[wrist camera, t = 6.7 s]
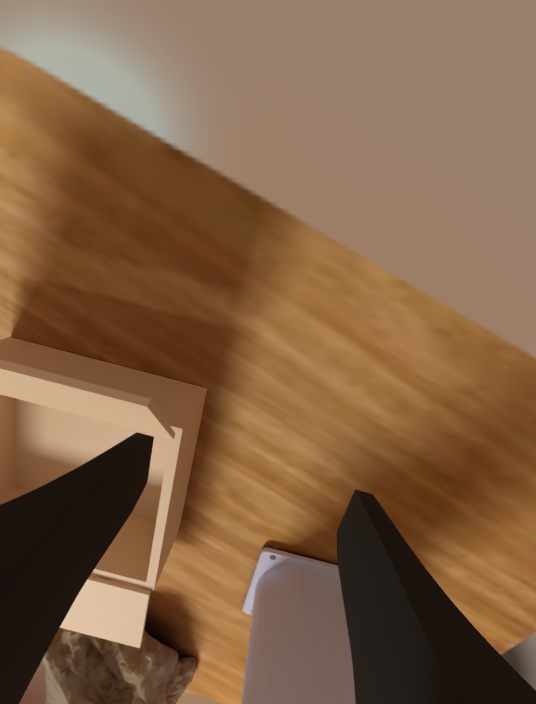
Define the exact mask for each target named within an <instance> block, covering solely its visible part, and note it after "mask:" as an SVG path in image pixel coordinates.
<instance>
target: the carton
mask: <svg viewBox="0 0 536 704" xmlns="http://www.w3.org/2000/svg"><path fill="white" fill-rule="evenodd" d="M0 360H4V361H8V362H12V363H16V364H20V365H23V366H27V367H31V368H35V369H39V370H43V371H46V372H50V373H54V374H58V375H62V376H65V377H69V378H73V379H77V380H81V381H85V382H88V383H92V384H96V385H100V386H104V387H108V388H111V389H115V390H119V391H123V392H127V393H131V394H134V395H138V396H142V397H146V398H150V399H151V400H152V402H153V403H154V404H155V406H156V407H157V409H158V410H159V411H160V413H161V414H162V415H163V417H164V418H165V420H166V421H167V422H168V424H169V425H170V427H171V428H172V429H173V431H174V432H175V437H174V440H173V439H169V438H166V437H162V436H158V435H154V434H150V433H146V432H143V431H139V430H135V429H131V428H127V427H123V426H119V425H116V424H112V423H108V422H104V421H100V420H96V419H93V418H89V417H85V416H81V415H77V414H73V413H70V412H66V411H62V410H58V409H54V408H50V407H47V406H43V405H39V404H35V403H31V402H27V401H24V400H20V399H16V398H12V397H8V396H4V395H1V394H0V505H1V504H3V503H6V502H8V501H10V500H12V499H15V498H17V497H19V496H22V495H24V494H26V493H28V492H30V491H33V490H35V489H37V488H39V487H41V486H43V485H45V484H47V483H49V482H51V481H53V480H55V479H57V478H59V477H60V476H62V475H64V474H66V473H68V472H70V471H72V470H74V469H76V468H77V467H79V466H81V465H83V464H84V463H86V462H88V461H90V460H91V459H93V458H95V457H97V456H98V455H100V454H102V453H103V452H105V451H107V450H108V449H110V448H112V447H113V446H115V445H117V444H118V443H120V442H121V441H123V440H125V439H126V438H128V437H130V436H131V435H133V434H135V433H137V432H138V433H142V434H145V435H149V436H153V437H154V440H153V447H152V454H151V461H150V468H149V475H148V482H147V484H146V486H145V488H144V490H143V492H142V494H141V496H140V498H139V500H138V502H137V504H136V506H135V508H134V510H133V511H132V513H131V514H130V516H129V517H128V519H127V521H126V522H125V524H124V525H123V527H122V528H121V530H120V531H119V533H118V534H117V536H116V537H115V539H114V540H113V542H112V543H111V545H110V546H109V548H108V549H107V551H106V552H105V554H104V555H103V557H102V558H101V560H100V561H99V563H98V564H97V566H96V567H95V569H94V570H93V572H92V573H91V574H93V575H97V576H101V577H105V578H108V579H112V580H116V581H120V582H124V583H128V584H132V585H135V586H139V587H143V588H147V589H151V590H154V589H155V586H156V584H157V582H158V579H159V577H160V574H161V572H162V569H163V567H164V564H165V562H166V560H167V557H168V555H169V552H170V550H171V547H172V545H173V542H174V540H175V538H176V535H177V533H178V530H179V528H180V523H181V518H182V513H183V508H184V503H185V498H186V493H187V488H188V483H189V478H190V473H191V468H192V463H193V458H194V453H195V448H196V443H197V438H198V433H199V428H200V423H201V418H202V413H203V408H204V403H205V398H206V393H207V388H204V387H200V386H196V385H192V384H189V383H185V382H181V381H177V380H173V379H169V378H166V377H162V376H158V375H154V374H150V373H146V372H143V371H139V370H135V369H131V368H127V367H123V366H120V365H116V364H112V363H108V362H104V361H100V360H97V359H93V358H89V357H85V356H81V355H78V354H74V353H70V352H66V351H62V350H58V349H55V348H51V347H47V346H43V345H39V344H35V343H32V342H28V341H24V340H20V339H16V338H12V337H8V338H5V339H2V340H0ZM93 575H90V576H89V578H88V579H87V581H86V582H85V584H84V586H83V587H82V589H81V591H80V592H79V594H78V595H77V597H76V599H75V601H74V603H73V604H72V606H71V608H70V610H69V612H68V613H67V615H66V617H65V619H64V621H63V622H62V624H61V626H60V628H63V629H67V630H71V631H75V632H79V633H83V634H87V635H90V636H94V637H98V638H102V639H106V640H110V641H114V642H117V643H121V644H125V645H129V646H133V647H137V648H140V647H141V644H142V639H143V633H144V628H145V622H146V616H147V610H148V604H149V599H150V593H151V590H147V589H143V588H139V587H135V586H132V585H128V584H124V583H120V582H116V581H112V580H108V579H105V578H101V577H97V576H93Z"/></svg>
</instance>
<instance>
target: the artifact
mask: <svg viewBox="0 0 536 704" xmlns="http://www.w3.org/2000/svg"><path fill="white" fill-rule="evenodd" d="M178 657H179V655H178V653H177V651H176V650H174V649H172V648H170V647H168V646H166V645H164V644H161V643H160V642H159V641H158V640H156V639H154V638H152V637H151V636H149V635H148V634H147V632H146V631H145V630H144V633H143V639H142V644H141V647H140V648H137V647H133V646H129V645H125V644H121V643H117V642H114V641H110V640H106V639H102V638H98V637H94V636H90V635H87V634H83V633H79V632H75V631H71V630H67V629H63V628H59V630H58V631H57V633H56V635H55V637H54V639H53V641H52V642H51V644H50V646H49V648H48V650H47V652H46V653H45V655H44V657H43V659H42V662H43V663H44V666H45V670H46V683H47V688H46V689H47V695H46V703H45V704H176V702H177V701H178V699H179V697H180V696H181V695H182V693H183V692H184V690H185V689H186V687H187V685H188V684H189V683H190V682H191V681H192V679H193V675H194V673H195V669H196V660H195V658H194V657H184V658H182V659H179V660H178Z"/></svg>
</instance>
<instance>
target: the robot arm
mask: <svg viewBox="0 0 536 704" xmlns="http://www.w3.org/2000/svg"><path fill="white" fill-rule="evenodd" d="M153 440H154V437H153V436H149V435H145V434H142V433H138V432H137V433H135V434H133V435H131V436H130V437H128V438H126V439H125V440H123V441H121V442H120V443H118V444H117V445H115V446H113V447H112V448H110V449H108V450H107V451H105V452H103V453H102V454H100V455H98V456H97V457H95V458H93V459H91V460H90V461H88V462H86V463H84V464H83V465H81V466H79V467H77V468H76V469H74V470H72V471H70V472H68V473H66V474H64V475H62V476H60V477H59V478H57V479H55V480H53V481H51V482H49V483H47V484H45V485H43V486H41V487H39V488H37V489H35V490H33V491H30V492H28V493H26V494H24V495H22V496H19V497H17V498H15V499H12V500H10V501H8V502H6V503H3V504H1V505H0V704H19V702H20V700H21V698H22V697H23V695H24V693H25V691H26V689H27V687H28V685H29V683H30V681H31V679H32V677H33V675H34V674H35V672H36V670H37V668H38V666H39V665H40V663H41V661H42V659H43V657H44V655H45V653H46V652H47V650H48V648H49V646H50V644H51V642H52V641H53V639H54V637H55V635H56V633H57V631H58V630H59V628H60V626H61V624H62V622H63V621H64V619H65V617H66V615H67V613H68V612H69V610H70V608H71V606H72V604H73V603H74V601H75V599H76V597H77V595H78V594H79V592H80V591H81V589H82V587H83V586H84V584H85V582H86V581H87V579H88V578H89V576H90V575H91V573H92V572H93V570H94V569H95V567H96V566H97V564H98V563H99V561H100V560H101V558H102V557H103V555H104V554H105V552H106V551H107V549H108V548H109V546H110V545H111V543H112V542H113V540H114V539H115V537H116V536H117V534H118V533H119V531H120V530H121V528H122V527H123V525H124V524H125V522H126V521H127V519H128V517H129V516H130V514H131V513H132V511H133V510H134V508H135V506H136V504H137V502H138V500H139V498H140V496H141V494H142V492H143V490H144V488H145V486H146V484H147V482H148V475H149V468H150V461H151V454H152V447H153ZM337 557H338V565H334V564H330V563H326V562H322V561H318V560H315V559H311V558H307V557H303V556H299V555H295V554H292V553H288V552H284V551H280V550H276V549H272V548H268V547H265V548H263V549H262V550H261V553H260V556H259V559H258V562H257V565H256V568H255V571H254V574H253V577H252V580H251V583H250V586H249V589H248V592H247V595H246V598H245V601H244V604H243V612H244V613H246V614H250V615H252V618H251V627H250V635H249V644H248V652H247V661H246V669H245V678H244V687H243V695H242V704H536V690H534V689H533V688H532V687H531V686H530V685H529V684H528V683H527V682H526V681H525V680H524V679H523V678H522V677H521V676H520V675H519V674H518V673H517V672H516V671H515V670H514V669H513V668H512V667H511V666H510V665H509V663H508V662H507V661H506V660H505V659H504V658H503V657H502V656H501V655H500V654H499V653H498V652H497V651H496V650H495V649H494V648H493V647H492V646H491V645H490V644H489V643H488V642H487V641H486V639H485V638H484V637H483V636H482V635H481V634H480V633H479V632H478V631H477V630H476V629H475V627H474V626H473V625H472V624H471V623H470V622H469V621H468V619H467V618H466V617H465V616H464V615H463V614H462V613H461V611H460V610H459V609H458V608H457V607H456V606H455V605H454V603H453V602H452V601H451V600H450V599H449V597H448V596H447V595H446V594H445V593H444V591H443V590H442V589H441V588H440V586H439V585H438V584H437V583H436V581H435V580H434V579H433V577H432V576H431V575H430V574H429V572H428V571H427V570H426V569H425V567H424V566H423V565H422V563H421V562H420V561H419V559H418V558H417V557H416V555H415V554H414V552H413V551H412V550H411V548H410V547H409V546H408V544H407V543H406V541H405V540H404V539H403V537H402V536H401V534H400V533H399V531H398V530H397V529H396V527H395V526H394V524H393V523H392V521H391V520H390V518H389V517H388V516H387V514H386V513H385V511H384V510H383V508H382V507H381V505H380V504H379V503H378V501H377V500H376V498H375V497H374V496H373V494H369V493H366V492H362V491H358V490H355V492H354V494H353V497H352V499H351V501H350V503H349V506H348V508H347V510H346V512H345V515H344V517H343V519H342V522H341V524H340V526H339V528H338V531H337Z"/></svg>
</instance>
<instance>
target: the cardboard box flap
mask: <svg viewBox="0 0 536 704" xmlns="http://www.w3.org/2000/svg"><path fill="white" fill-rule="evenodd" d="M0 394H1V395H4V396H8V397H12V398H16V399H20V400H24V401H27V402H31V403H35V404H39V405H43V406H47V407H50V408H54V409H58V410H62V411H66V412H70V413H73V414H77V415H81V416H85V417H89V418H93V419H96V420H100V421H104V422H108V423H112V424H116V425H119V426H123V427H127V428H131V429H135V430H139V431H143V432H146V433H150V434H154V435H158V436H162V437H166V438H169V439H173V440H174V437H175V432H174V431H173V429H172V428H171V427H170V425H169V424H168V422H167V421H166V420H165V418H164V417H163V415H162V414H161V413H160V411H159V410H158V409H157V407H156V406H155V404H154V403H153V402H152V400H151V399H150V398H146V397H142V396H138V395H134V394H131V393H127V392H123V391H119V390H115V389H111V388H108V387H104V386H100V385H96V384H92V383H88V382H85V381H81V380H77V379H73V378H69V377H65V376H62V375H58V374H54V373H50V372H46V371H43V370H39V369H35V368H31V367H27V366H23V365H20V364H16V363H12V362H8V361H4V360H0Z"/></svg>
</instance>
